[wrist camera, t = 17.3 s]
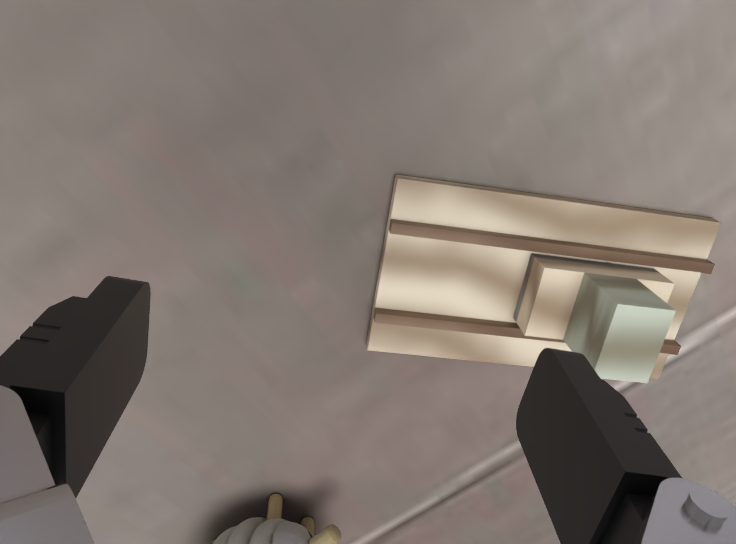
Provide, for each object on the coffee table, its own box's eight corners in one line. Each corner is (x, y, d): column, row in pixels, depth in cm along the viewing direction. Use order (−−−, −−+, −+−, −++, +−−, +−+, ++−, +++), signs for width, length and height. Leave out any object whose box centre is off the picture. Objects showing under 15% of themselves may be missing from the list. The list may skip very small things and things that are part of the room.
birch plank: (395, 174, 42) (399, 181, 40) (711, 217, 45) (730, 226, 43) (366, 342, 47) (368, 356, 45) (650, 371, 50) (664, 385, 48)
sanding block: (531, 253, 43) (573, 298, 36) (653, 268, 45) (718, 315, 37) (513, 317, 45) (549, 373, 38) (630, 330, 47) (688, 386, 39)
